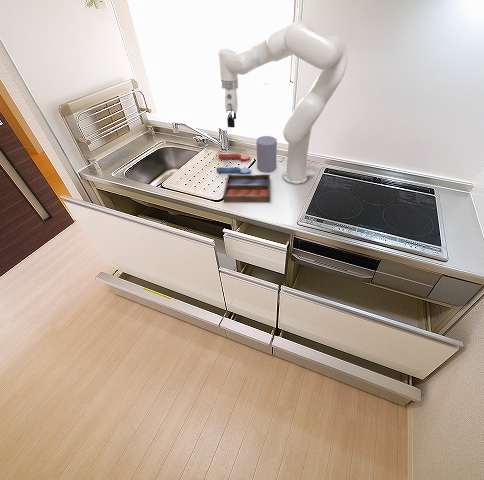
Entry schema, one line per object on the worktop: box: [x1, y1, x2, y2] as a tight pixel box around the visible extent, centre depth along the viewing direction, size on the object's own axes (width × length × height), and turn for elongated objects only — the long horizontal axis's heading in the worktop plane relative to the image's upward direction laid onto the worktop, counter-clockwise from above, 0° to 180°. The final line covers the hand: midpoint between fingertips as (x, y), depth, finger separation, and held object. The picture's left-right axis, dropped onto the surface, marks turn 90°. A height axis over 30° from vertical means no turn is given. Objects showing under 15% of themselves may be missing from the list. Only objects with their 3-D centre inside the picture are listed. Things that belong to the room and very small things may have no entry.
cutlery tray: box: [222, 173, 271, 203], centre depth 125 cm, size 21×18×3 cm
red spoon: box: [217, 153, 251, 162], centre depth 146 cm, size 18×6×3 cm, turn 90°
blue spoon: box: [216, 166, 251, 175], centre depth 136 cm, size 18×6×3 cm, turn 90°
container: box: [255, 135, 278, 173], centre depth 136 cm, size 10×10×15 cm
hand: (232, 122), depth 127 cm, fingers open, 9 cm apart
